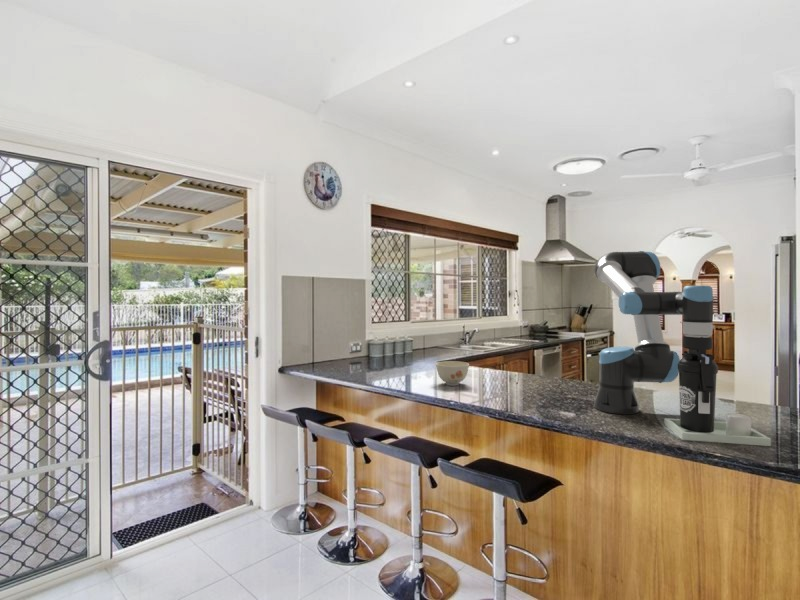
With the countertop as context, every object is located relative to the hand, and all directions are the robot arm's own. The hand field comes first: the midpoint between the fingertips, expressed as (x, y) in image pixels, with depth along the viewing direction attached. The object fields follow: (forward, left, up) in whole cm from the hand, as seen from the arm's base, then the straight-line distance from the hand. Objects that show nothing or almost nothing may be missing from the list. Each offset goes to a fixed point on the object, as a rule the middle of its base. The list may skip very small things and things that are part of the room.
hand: (696, 408), depth 131 cm
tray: (+5, 0, -9) cm, 10 cm away
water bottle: (0, 0, -6) cm, 6 cm away
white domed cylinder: (+11, 0, -8) cm, 13 cm away
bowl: (-82, +56, -9) cm, 100 cm away
